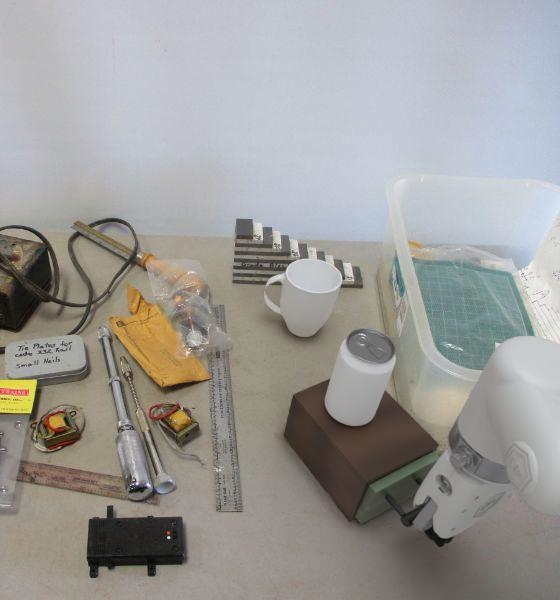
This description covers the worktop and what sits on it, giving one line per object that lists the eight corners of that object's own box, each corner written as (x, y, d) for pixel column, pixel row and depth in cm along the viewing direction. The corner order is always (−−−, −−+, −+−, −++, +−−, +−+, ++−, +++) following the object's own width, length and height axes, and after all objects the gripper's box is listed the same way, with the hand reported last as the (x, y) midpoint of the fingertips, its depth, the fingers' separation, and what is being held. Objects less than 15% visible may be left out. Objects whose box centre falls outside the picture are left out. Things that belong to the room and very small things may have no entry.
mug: (329, 315, 104) (343, 261, 96) (326, 350, 97) (341, 297, 89) (263, 303, 106) (271, 250, 98) (256, 337, 100) (264, 284, 92)
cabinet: (417, 485, 79) (439, 444, 73) (349, 521, 76) (366, 482, 69) (346, 406, 89) (360, 364, 83) (282, 435, 85) (292, 394, 79)
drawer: (446, 517, 75) (468, 485, 70) (384, 553, 72) (401, 523, 66) (354, 415, 87) (366, 381, 81) (296, 443, 83) (305, 409, 78)
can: (346, 380, 80) (367, 317, 72) (384, 411, 77) (411, 349, 68) (313, 403, 78) (331, 340, 69) (351, 436, 74) (375, 374, 66)
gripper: (467, 508, 53) (410, 592, 65) (577, 444, 58) (505, 534, 70) (406, 444, 58) (364, 534, 70) (512, 390, 63) (455, 483, 75)
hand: (434, 533), depth 70 cm, fingers closed
